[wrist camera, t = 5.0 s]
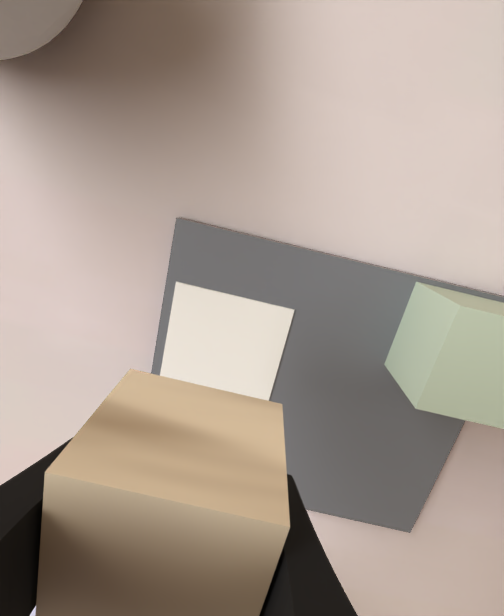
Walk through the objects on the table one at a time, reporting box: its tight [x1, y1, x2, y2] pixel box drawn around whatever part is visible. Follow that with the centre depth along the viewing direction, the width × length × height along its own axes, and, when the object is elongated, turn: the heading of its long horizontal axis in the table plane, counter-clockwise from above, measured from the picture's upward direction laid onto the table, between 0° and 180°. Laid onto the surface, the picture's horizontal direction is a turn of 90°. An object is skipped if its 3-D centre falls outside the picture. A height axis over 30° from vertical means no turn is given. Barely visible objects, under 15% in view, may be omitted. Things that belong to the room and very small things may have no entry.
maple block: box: [35, 369, 290, 616], centre depth 9 cm, size 4×4×4 cm
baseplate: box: [151, 218, 504, 533], centre depth 19 cm, size 15×17×1 cm
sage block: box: [384, 282, 504, 429], centre depth 15 cm, size 4×4×4 cm
